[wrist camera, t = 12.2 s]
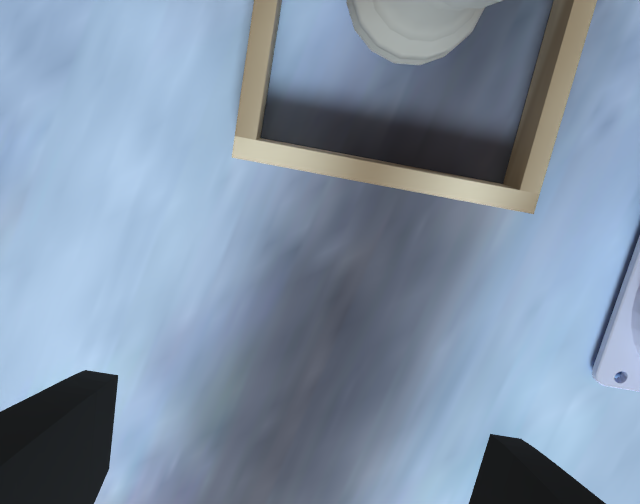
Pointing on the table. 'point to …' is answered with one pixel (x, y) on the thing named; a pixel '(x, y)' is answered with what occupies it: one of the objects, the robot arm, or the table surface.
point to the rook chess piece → (415, 26)
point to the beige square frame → (515, 193)
